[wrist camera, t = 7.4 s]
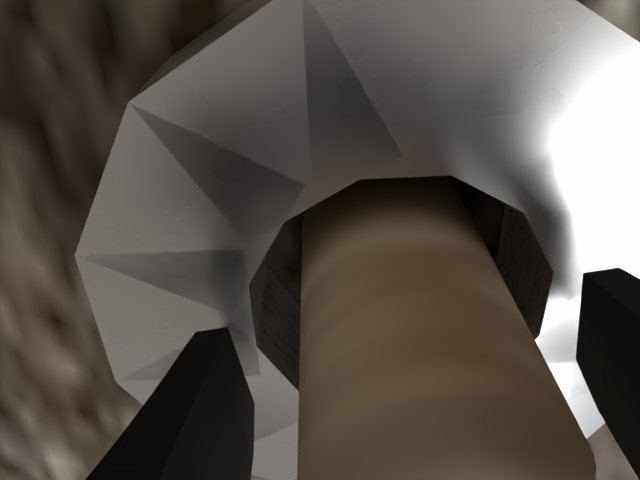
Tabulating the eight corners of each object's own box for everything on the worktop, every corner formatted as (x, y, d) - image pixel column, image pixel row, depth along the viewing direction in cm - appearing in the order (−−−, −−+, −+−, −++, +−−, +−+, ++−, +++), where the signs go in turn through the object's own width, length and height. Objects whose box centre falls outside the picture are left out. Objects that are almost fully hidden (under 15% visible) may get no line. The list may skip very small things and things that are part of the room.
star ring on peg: (753, 133, 12) (871, 193, 10) (445, 448, 18) (468, 541, 15) (259, -185, 9) (240, -220, 7) (72, 317, 15) (22, 404, 12)
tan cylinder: (499, 201, 13) (662, 454, 7) (408, 318, 15) (475, 598, 9) (353, 127, 12) (397, 347, 6) (274, 262, 14) (249, 535, 8)
